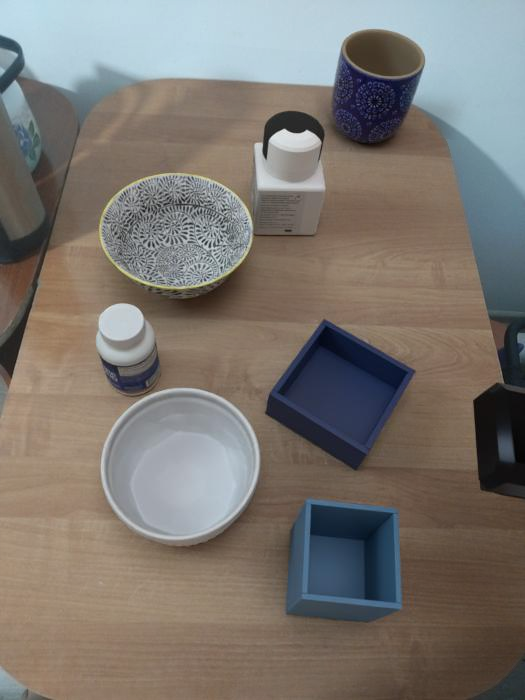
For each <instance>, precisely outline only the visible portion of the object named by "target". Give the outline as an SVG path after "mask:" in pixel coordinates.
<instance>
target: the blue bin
mask: <svg viewBox="0 0 525 700" xmlns="http://www.w3.org/2000/svg"><path fill="white" fill-rule="evenodd" d="M399 517H400V515H399V508H398V507H389V506H379V505H370V504H361V503H351V502H341V501H333V500H325V499H324V500H323V499H314V498H306V499H305V501H304V502H303V505H302V506H301V509H300V511H299V512H298V514H297V517H296V519H295V520H294V523H293V524H292V526H291V529H290V534H289V549H288V550H289V551H288V567H287V568H288V569H287V585H286V602H285V615H288V616H296V617H297V616H298V617H307V618H315V619H317V618H318V619H325V620H334V621H335V620H336V621H344V622H345V621H346V622H355V623H366V624H368V623H372V622H374V621H376V620H379V619H381V618H384V617H387V616H389V615H391V614H394V613H397V612H399V611H402V610H403V597H402V596H403V595H402V594H403V593H402V571H401V569H402V567H401V547H400V546H401V544H400V543H401V542H400V521H399V519H400V518H399Z"/></svg>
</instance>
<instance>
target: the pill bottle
mask: <svg viewBox="0 0 525 700" xmlns="http://www.w3.org/2000/svg"><path fill="white" fill-rule="evenodd" d="M97 324H98V329H97V331H96V335H95V345H96V350H97V352H98V355H99V359H100V362H101V364H102V367H103V370H104V373H105V375H106V378H107V380H108V382H109V384H110V386H111V387H112V389H113V390H114V391H116V392H117V393H119V394H120V395H124V396H131V397H132V396H133V397H134V396H140V395H144V394H146V393H147V392H149V391H151V390H152V389H153V388H154V387H155V386H156V384H157V383H158V382H159V379H160V376H161V363H160V359H159V352H158V346H157V340H156V334H155V330H154V329H153V326H152V325H151V323H150V322H149V321H148V320H147V319H145V317H144V314H143V312H142V310H140V309H139V308H138V307H137V306H135V305H133V304H131V303H116V304H112V305H110V306H109V307H107V308H106V309H104V310H103V311H102V313H101V314H100V315H99V317H98V323H97Z"/></svg>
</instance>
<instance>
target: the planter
mask: <svg viewBox="0 0 525 700" xmlns="http://www.w3.org/2000/svg"><path fill="white" fill-rule="evenodd" d="M425 64H426V56H425V53H424V51H423V49H422V48H421V47H420V45H418V43H416V42H415V41H414V40H413V39H411V38H409V37H408V36H406V35H405V34H404V35H403V34H401V33H399V32H396V31H393V30H388V29H381V28H368V29H361V30H358V31H355V32H353V33H351V34H349V35H348V36H346V38H345V39H344V40H343V42H342V44H341V47H340V50H339V55H338V60H337V65H336V69H335V75H334V81H333V87H332V93H331V102H330V108H331V109H330V111H331V116H332V119H333V122H334V124H335V126H336V128H337V129H338V130H339V132H340V133H341V134H343V135H344V136H345V137H346V138H348V139H350V140H352V141H354V142H357V143H361V144H378V143H380V142H384V141H385V140H388V139H389V138H391V137H392V136H394V135H395V134H396V133H397V132H398V131H399V130H400V129H401V127H402V126H403V124H404V122H405V120H406V118H407V116H408V114H409V112H410V109H411V107H412V104H413V101H414V98H415V96H416V93H417V90H418V87H419V84H420V81H421V79H422V75H423V72H424V69H425V66H426V65H425Z"/></svg>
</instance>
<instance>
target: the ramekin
mask: <svg viewBox="0 0 525 700" xmlns="http://www.w3.org/2000/svg"><path fill="white" fill-rule="evenodd" d="M260 449H261V448H260V443H259V441H258V437H257V435H256V432H255V429H254V427H253V426H252V425H251V423H250V421H249V420H248V418H247V417H246V416H245V414H244V413H242V411H241V410H240V409H239V408H238V407H236V406H235V405H234V404H233V403H232V402H230V401H229V400H227V399H226V398H225V397H222V396H220V395H218V394H216V393H214V392H211V391H208V390H204V389H202V388H201V389H199V388H194V387H174V388H166V389H162V390H159V391H157V392H154V393H150V394H149V395H146V396H144V397H142V398H141V399H139V400H138V401H136V402H135V403H133V404H132V405H131V406H130V407H128V408H127V409H125V411H123V413H122V414H120V416H119V417H118V418H117V420H116V421H115V422H114V423H113V425H112V427H111V429H110V430H109V432H108V434H107V437H106V439H105V441H104V445H103V448H102V452H101V457H100V465H99V468H100V477H101V478H100V479H101V484H102V488H103V492H104V494H105V497H106V500H107V501H108V504H109V505H110V507H111V509H112V510H113V512H114V514H115V515H116V516H117V518H118V519H119V520H120V521H121V522H122V523H123V524H124V525H125V526H126V527H128V529H130V530H131V531H132V532H134V533H136V534H137V535H139V536H141V537H143V538H145V539H147V540H151V541H154V542H157V543H158V544H162V545H167V546H170V547H173V546H174V547H190V546H192V545H194V546H195V545H197V546H198V545H199V544H200V543H206V542H208V541H209V540H213V539H215V538H216V537H217V536H218V535H220V534H223V532H225V530H227V529H228V528H229V527H231V525H232V524H233V523H234V522H235V521H236V520H237V519H238V518H239V517H241V515H242V514H243V513H244V511H245V510H246V509H247V507H248V506H249V504H250V502H251V500H252V499H253V497H254V494H255V493H256V490H257V487H258V484H259V480H260V476H261V464H262V463H261V461H262V460H261V450H260Z"/></svg>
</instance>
